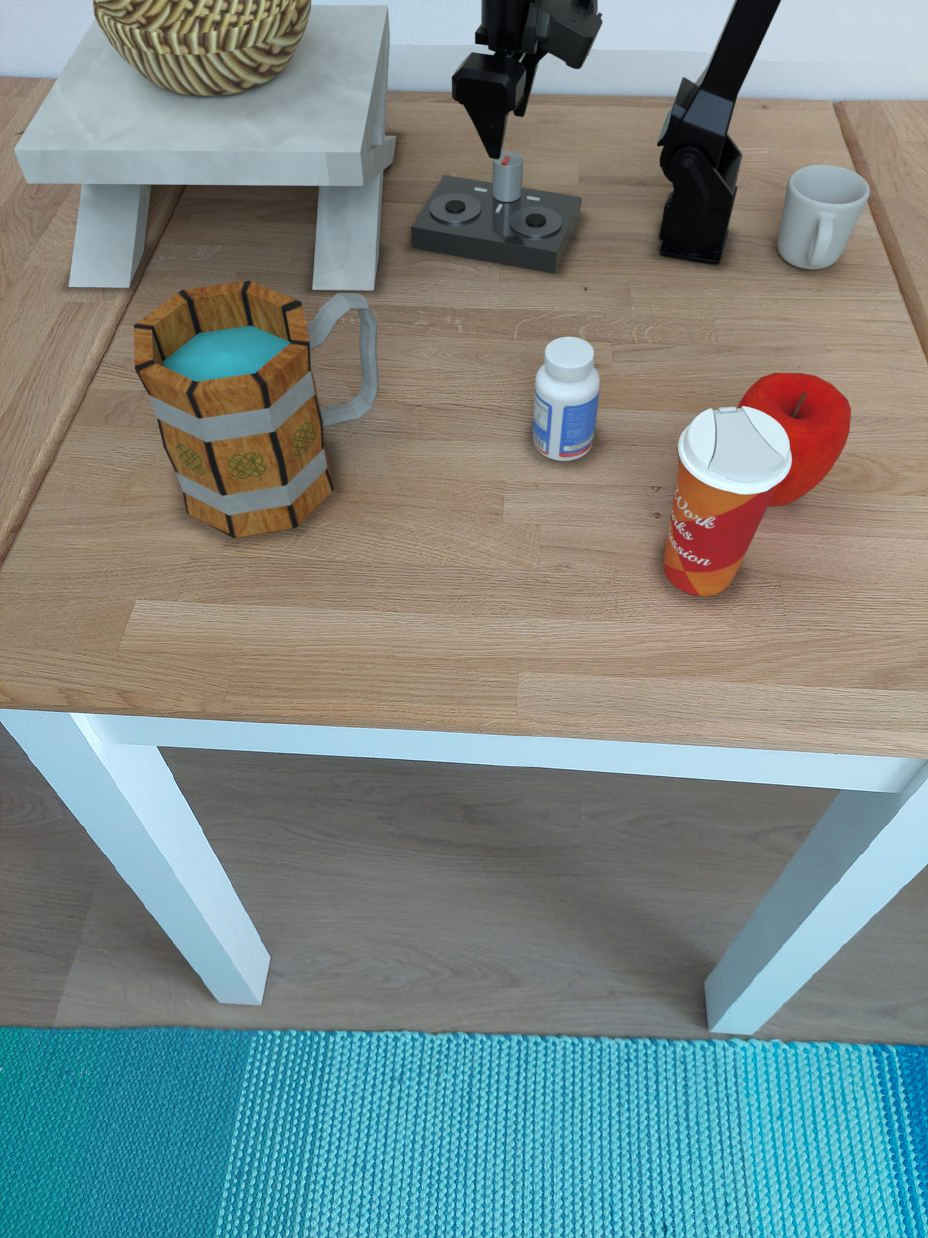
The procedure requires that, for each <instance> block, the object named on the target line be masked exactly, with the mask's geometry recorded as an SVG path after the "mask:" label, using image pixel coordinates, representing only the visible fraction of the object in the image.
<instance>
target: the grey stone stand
mask: <svg viewBox="0 0 928 1238" xmlns="http://www.w3.org/2000/svg"><path fill="white" fill-rule="evenodd" d="M92 9H93V10H92V11H93V16H94V19H93V21H92V23H90V26H89V27H88V29H87V30H86V32H85V34H84V35H83V37H82V38H81V40H80V42H79V43H78V45H77V46H76V48H75V50H74V52H73V53H72V55H71V56H70V58H69V59H68V60H67V63H66V64H65V66H64V68H63V69H62V71H61V72H60V74H59V76H58V77H57V78H56V80H55V82H54V84H53V85H52V87H51V88H50V90H49V91H48V93H47V95H46V97H45V99H44V100H43V101H42V103H41V105H40V106H39V108H38V110H37V111H36V113H35V114H34V116H33V118H32V119H31V120H30V122H29V124H28V125H27V127H26V129H25V130H24V132H23V133H22V135H21V137H20V139H19V140H18V141H17V143H16V145H15V147H14V148H13V152H14V154H15V157H16V160H17V163H18V164H19V167H20V169H21V171H22V174H23V177H24V179H25V182H26V184H57V185H58V184H59V185H60V184H68V185H71V184H73V185H79V184H80V185H81V188H80V197H79V204H78V213H77V220H76V227H75V234H74V243H73V248H72V258H71V259H72V260H71V266H70V274H69V280H68V281H69V282H68V288H112V289H113V288H114V289H115V288H119V289H120V288H122V289H123V288H124V289H126V288H127V289H130V286H131V284H132V283H133V282H132V281H133V280H134V277H135V274H136V272H137V270H138V267H139V265H140V263H141V260H142V257H143V255H144V252H145V244H146V234H147V228H148V227H147V225H148V217H149V207H150V201H151V200H150V199H151V192H152V191H151V190H152V185H175V186H176V185H180V186H181V185H183V186H184V185H185V186H187V185H190V186H192V185H193V186H194V185H196V186H295V187H297V186H299V187H300V186H303V187H304V186H306V187H308V186H309V187H311V186H312V187H313V186H314V187H316V186H317V187H318V198H317V199H318V200H317V214H316V215H317V216H316V217H317V218H316V230H315V243H314V244H315V245H314V261H313V262H314V263H313V276H312V288H311V289H312V291H375V285H376V278H377V272H378V266H379V260H380V259H379V258H380V246H381V245H380V244H381V222H382V205H383V204H382V202H383V186H384V184H383V183H384V171H385V169H388V167H389V166H391V165H392V164H393V163H394V156H395V149H396V144H397V143H396V141H397V135H386V125H387V106H388V105H387V104H388V84H389V66H390V65H389V64H390V48H391V47H390V45H391V32H390V17H389V16H390V15H389V5H385V4H384V5H383V4H382V5H379V4H377V5H376V4H373V5H372V4H370V5H369V4H368V5H367V4H365V5H364V4H312V0H92Z"/></svg>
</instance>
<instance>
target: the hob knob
mask: <svg viewBox="0 0 928 1238" xmlns="http://www.w3.org/2000/svg"><path fill="white" fill-rule="evenodd" d="M523 167H524V157H523V156H522V155H521V154H520V153H518V152H516V151H512V150H511V151H510V150H504V151H502V152H501V156H500V158H499V159H492V183H493V189H492V194H493V197H494V198H495V199H497V200H499V201H503V202H512V201H515V200H517V199H519V198H520V197H521V194H522V187H523V170H524V168H523Z"/></svg>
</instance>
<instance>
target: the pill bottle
mask: <svg viewBox="0 0 928 1238" xmlns="http://www.w3.org/2000/svg"><path fill="white" fill-rule="evenodd" d="M594 350H595V349H594V348H593V346H592V344H591V343H590V342H589V341H587V340H585V339H583V338H580V337H576V336H562V337H557V338H555V339H553V340H552V341H550V342H549V343H548V344H547V345H546V347H545V350H544V358H543V364H542V365H541V366H540V367H539V368H538V370H537V372H536V375H535V381H534V394H533V395H534V398H533V418H532V419H533V421H532V442H533V445H534V447H535V449H536V451H538V452H539V453H540V454H541V455H542V456H544V457H546V458H548V459H551V460H553V461H558V462H570V461H574V460H577V459H580V458H582V457H584V456H585V455H586V454H588V452H589V451H590V450H591V448H592V446H593V444H594V439H595V432H596V424H597V423H596V421H597V413H598V406H599V405H598V404H599V398H600V397H599V396H600V388H601V387H600V386H601V385H600V384H601V377H600V375H599V372H598V370H597V368H596V367H594V365H595V362H594V361H595V351H594Z"/></svg>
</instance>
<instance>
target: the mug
mask: <svg viewBox="0 0 928 1238" xmlns="http://www.w3.org/2000/svg"><path fill="white" fill-rule="evenodd" d="M303 307H304V306H303V302H302V301H300V300H297V299H296V298H293V297H291V296H288V295H285V294H284V293H280V292H278V291H275V290H273V289H271V288H268V287H266V286H263V285H260V284H258V283H256V282H253V281H251V280H243V281H237V282H229V283H223V284H215V285H208V286H200V287H193V288H192V287H191V288H186V289H181V290H179V291H178V292H176V293H175V294H174V295H173V296H171V297H170V298H169V299H167V300H166V301H165V302H163V303H161V304H160V305H159V306H158V307H156V308H154V309H153V311H151V312H150V313H148V314H147V315H146V316H144V317H143V318H142V319H140V320H139V321H138V322H136V323H135V324H134V325H133V346H134V347H133V349H134V351H133V352H134V353H133V354H134V370H135V373H136V375H137V376H138V378H139V380H140V382H141V383H142V385H143V387H144V390H145V391H146V393H147V395H148V397H149V400H150V404H151V406H152V409H153V412H154V414H155V417H156V421H157V425H158V430H159V433H160V437H161V443H162V446H163V449H164V451H165V453H166V455H167V457H168V459H169V461H170V464H171V465H172V468H173V470H174V472H175V475H176V477H177V479H178V483H179V486H180V489H181V491H182V495H183V500H184V506H185V512H186V514H187V515H189V516H190V517H192V518H195V519H196V520H198V521H199V522H202V523H204V524H206V525H208V526H210V527H212V528H213V529H215V530H217V531H219V532H221V533H222V534H224V535H227V536H229V537H231V538H233V539H237V538H244V537H249V536H254V535H261V534H266V533H274V532H278V531H284V530H289V529H296V528H298V527H299V526H300V525H301V524H302V523H303V522H304V521H305V520H306V519H307V518H308V517H309V516H310V515H311V514H312V513H313V512H314V510H316V509H317V508H318V507H319V505H320V504H321V503H323V502H324V500H325V499H326V498H328V496H329V495H331V493H332V492H333V491H334V490H335V485H334V480H333V476H332V471H331V466H330V460H329V456H328V450H327V446H326V444H325V439H324V429H325V428H330V427H333V426H337V425H339V424H343V423H347V422H352V421H357V420H359V419H361V417H363V416H364V415H365V414H366V413H367V412H369V410H370V409H372V408H373V407H374V403H375V400H376V398H377V394H378V391H379V389H380V377H379V375H380V373H379V371H380V370H379V358H378V320H377V317H376V316H375V313H374V312H373V310H372V308H371V306H370V304H369V302H368V300H367V299H366V297H365V296H364V295H362V294H361V293H354V292H338V293H336V294H335V295H333V297H331V298H330V299H328V300H327V301H326V302H325V303H323V304H322V306H321V307H320V309H319V311H318V312H317V314H316V315H315V317H314V319H313V321H312V322H311V323H310V324H309V326H307V322H306V317H305V312H304V308H303ZM349 311H357V313H358V316H359V337H358V347H359V356H360V368H361V383H360V386H359V390H358V394H357V395H356V396H354V398H352V399H351V400H350V401H349V402H348V403H343V404H335V405H330V406H326V407H324V408H323V407H322V408H321V406H320V402H319V395H318V390H317V386H316V381H315V378H314V374H313V370H312V365H311V351H312V350H315V349H316V348H318V347H320V346H322V345H323V344H324V343H325V341H326V340H327V339H328V338H329V336H330V335H331V332H332V331H333V329H334V328H335V326H336V324H337V322H338V321H339V320H341V318H343V317H344V316H345V315H346V314H347V313H348V312H349Z"/></svg>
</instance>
